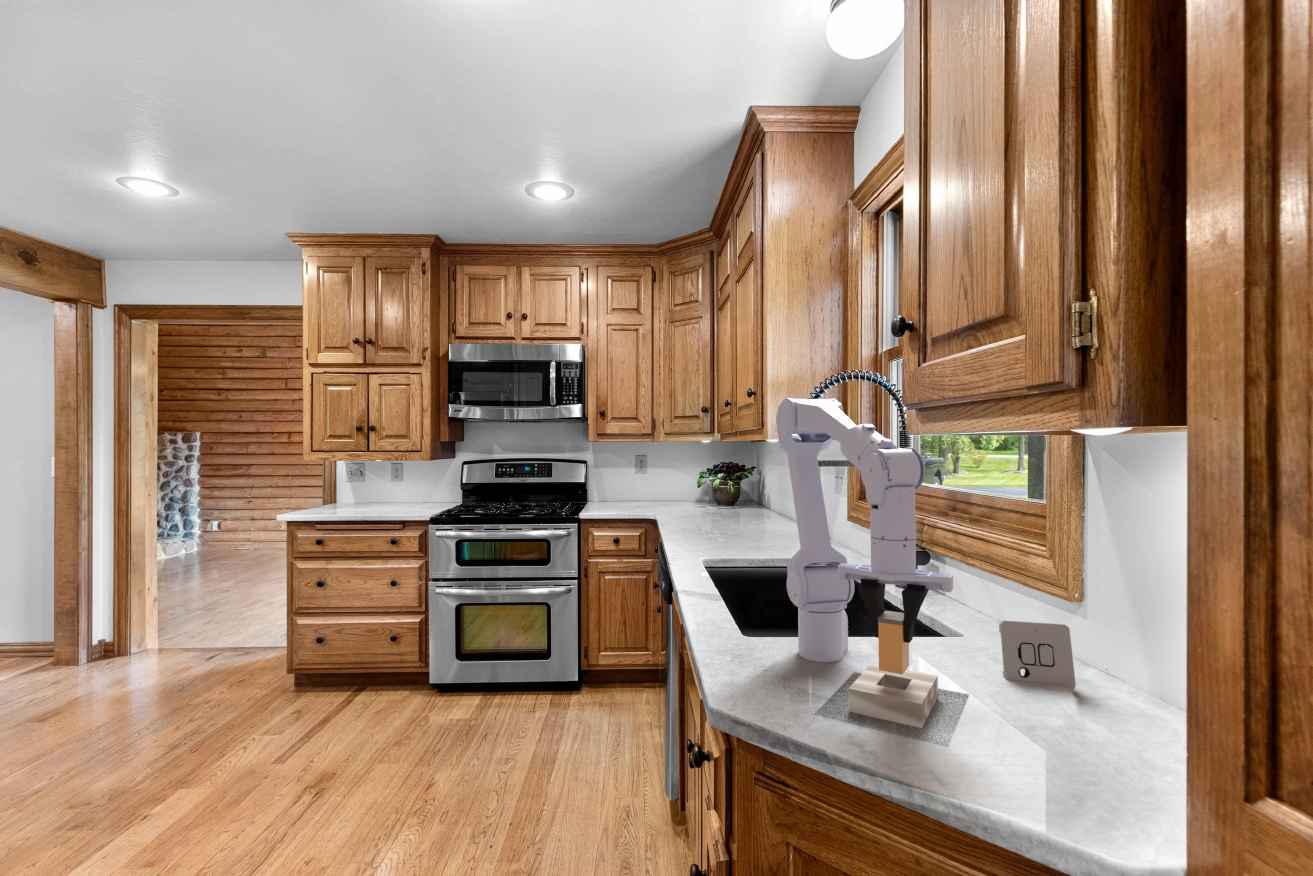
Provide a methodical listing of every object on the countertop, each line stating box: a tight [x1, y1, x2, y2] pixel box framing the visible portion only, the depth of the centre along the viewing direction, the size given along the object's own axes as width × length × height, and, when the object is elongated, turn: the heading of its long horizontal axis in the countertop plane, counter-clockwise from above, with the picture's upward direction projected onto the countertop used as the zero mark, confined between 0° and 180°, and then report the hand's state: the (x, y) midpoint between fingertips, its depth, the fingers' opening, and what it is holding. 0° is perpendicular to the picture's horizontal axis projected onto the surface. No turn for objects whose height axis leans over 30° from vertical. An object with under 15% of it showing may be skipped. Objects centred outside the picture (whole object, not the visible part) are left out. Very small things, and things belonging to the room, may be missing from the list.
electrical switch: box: [998, 620, 1077, 690], centre depth 95 cm, size 9×5×9 cm, turn 74°
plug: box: [878, 610, 910, 674], centre depth 85 cm, size 4×3×7 cm
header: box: [815, 663, 970, 748], centre depth 84 cm, size 18×16×4 cm
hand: (893, 638), depth 85 cm, fingers closed on plug, 3 cm apart
